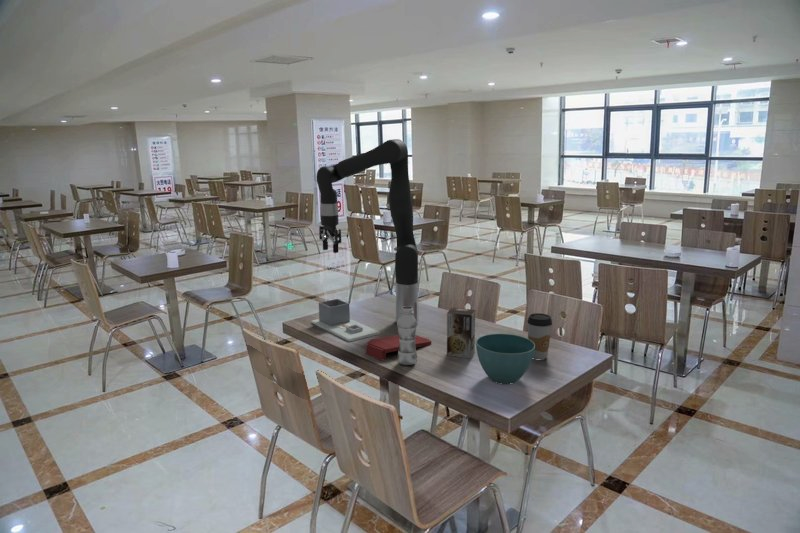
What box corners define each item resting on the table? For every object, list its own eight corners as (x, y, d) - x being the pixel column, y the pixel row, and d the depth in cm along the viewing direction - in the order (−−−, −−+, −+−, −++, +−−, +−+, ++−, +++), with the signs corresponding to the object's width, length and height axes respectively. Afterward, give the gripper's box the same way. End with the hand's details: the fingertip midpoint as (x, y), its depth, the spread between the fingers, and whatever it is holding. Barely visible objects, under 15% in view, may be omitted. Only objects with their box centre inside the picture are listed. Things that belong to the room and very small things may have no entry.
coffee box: (475, 352, 199) (476, 309, 195) (471, 358, 193) (472, 314, 189) (450, 349, 202) (451, 307, 198) (445, 355, 196) (446, 312, 192)
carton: (409, 345, 217) (361, 353, 199) (410, 333, 216) (363, 340, 198) (432, 353, 209) (385, 362, 191) (433, 340, 208) (386, 348, 190)
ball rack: (311, 322, 232) (310, 302, 230) (339, 316, 241) (339, 296, 239) (349, 341, 210) (348, 319, 208) (379, 334, 218) (378, 312, 216)
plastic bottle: (417, 367, 186) (417, 310, 181) (397, 367, 186) (396, 310, 181) (417, 360, 192) (417, 305, 188) (397, 360, 192) (397, 304, 188)
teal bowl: (490, 363, 189) (491, 329, 186) (541, 376, 179) (543, 340, 176) (465, 382, 174) (466, 345, 171) (519, 396, 164) (521, 358, 161)
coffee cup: (536, 363, 189) (538, 321, 185) (520, 355, 196) (522, 314, 193) (555, 359, 192) (557, 317, 189) (538, 351, 200) (541, 311, 196)
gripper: (345, 214, 232) (346, 252, 235) (328, 211, 243) (329, 247, 246) (330, 216, 227) (331, 254, 231) (313, 213, 238) (314, 249, 242)
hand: (330, 251), depth 239 cm, fingers open, 8 cm apart
